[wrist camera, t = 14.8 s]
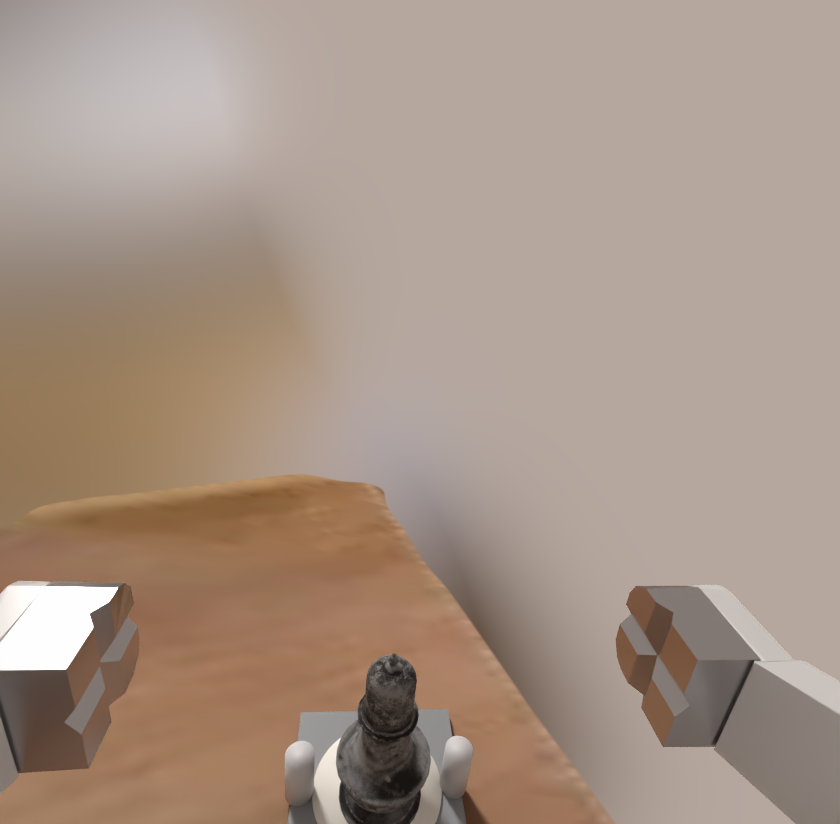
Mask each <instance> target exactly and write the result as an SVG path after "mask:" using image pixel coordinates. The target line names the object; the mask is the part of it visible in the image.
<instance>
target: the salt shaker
mask: <svg viewBox="0 0 840 824" xmlns="http://www.w3.org/2000/svg"><path fill="white" fill-rule="evenodd" d="M416 682H417V680H416V672H415V670H414V668H413V666H412V665H411V664H410V663H409V662H408V661H407V660H406V659H404V658H402V657H400V656H397V655H396V654H392V655H386V656H383V657H380V658H378V659H377V660H376V661H374V662H373V663H372V665H371V666H370V668H369V671H368V674H367V681H366V694H365V695H364V696H363V698H362V699H361V701H360V703H359V706H358V720H356V721H355V722H354V723H353V724H352V725H350V726H349V727H348V728H347V730H346V731H345V733H344V734H343V736H342V737H341V739H340V742H339V745H338V748H337V754H336V767H337V772H338V776H339V778H340V780H341V783H340V787H339V802H340V808H341V811H342V813H343V815H344V817H345V820H346V821H347V822H348V823H349V824H410V823H411V822H412V821H413V819H414V818H415V815H416V813H417V811H418V809H419V804H420V798H421V790H420V789H421V788H422V787H423V786H424V784H425V782H426V779H427V777H428V775H429V770H430V764H431V756H430V748H429V745H428V742H427V740H426V737H425V736H424V734H423V733H422V731H421V730H420V728H419V727H418V726H417V722H418V717H419V713H418V707H417V704H416V702H415V700H414V698H415V690H416Z"/></svg>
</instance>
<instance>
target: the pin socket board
mask: <svg viewBox="0 0 840 824" xmlns="http://www.w3.org/2000/svg"><path fill="white" fill-rule="evenodd" d="M418 713H419V717H418V722H417V726H418V727H419V728H420V730H421V731H422V733H423V734H424V736H425V737H426V740H427V742H428V745H429V748H430V756H431V764H430V770H429V775H428V777H427V779H426V782H425V784H424V786H423V787H422V788H421V789H420V790H421V798H420V804H419V809H418V811H417V813H416V815H415V818H414V819H413V821H412V822H411V823H410V824H466V818H465V812H464V806H463V799H462V796H463V795H464V793H465V791H466V786H467V781H468V776H469V771H470V766H471V761H472V756H473V747H472V745H471V743H470V742H469V741H468V740H467V739H466V738H464V737H462V736H453V737H452V732H451V726H450V720H449V714H448V709H424V710H418ZM356 720H358V711H345V712H305V713H301V718H300V726H299V735H298V741H297V742H295V743H293V744H292V745H290V746H289V748H288V749H287V751H286V753H285V797H286V800H287V802H288V803H289V804H290V809H289V818H288V824H349V823H348V822H347V821H346V820H345V817H344V815H343V813H342V811H341V808H340V802H339V787H340V783H341V780H340V778H339V776H338V772H337V767H336V754H337V748H338V745H339V742H340V739H341V737H342V736H343V734H344V733H345V731H346V730H347V728H348V727H349V726H350V725H352V724H353V723H354V722H355V721H356Z"/></svg>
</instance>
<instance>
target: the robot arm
mask: <svg viewBox="0 0 840 824" xmlns="http://www.w3.org/2000/svg"><path fill="white" fill-rule="evenodd" d="M133 605H134V600H133V595H132V590H131V586H129V585H127V584H125V583H101V582H66V581H55V582H41V581H18V582H15V583H13V584H11V585H9V586H7V587H6V588H5V589H4V590H3V591H2V593H1V594H0V794H1V793H2V792H3V791H4V790H5V789H6V788H7V787H8V786H9V785H11V784H12V783H13V782H14V781H15V780H16V779H17V778H18V777H19V775H18V773H27V772H42V771H57V770H72V769H87V768H89V767H90V765H91V763H92V760H93V758H94V756H95V754H96V752H97V750H98V748H99V746H100V744H101V742H102V740H103V738H104V736H105V734H106V732H107V730H108V727H109V725H110V723H111V717H110V711H109V705H110V704H112V703H113V702H114V701H116V700H117V699H118V698H119V697H121V696H122V695H123V694H124V693H125V692H126V690H127V688H128V685H129V683H130V681H131V679H132V677H133V674H134V670H135V666H136V662H137V658H138V653H139V633H138V626H137V625H135V624H134V623H133V622H132V621H131V620H130V619H129V618H128V617H127V616H128V614H129V612H130V611H131V609H132V607H133ZM626 605H627V606H628V608H629V610H630V612H631V615H630V616H629V617H628V618H626V619H625V620H624V621H623V622H622V623H621V624H620V626H619V630H618V634H617V638H616V648H617V658H618V661H619V664H620V667H621V670H622V672H623V674H624V676H625V678H626V680H627V682H628V683H629V684H630V685H631V686H633V687H634V688H635V689H637V690H638V691H639V692H640V693H642V694H643V701H642V709H643V711H644V713H645V715H646V717H647V719H648V720H649V722H650V724H651V726H652V728H653V729H654V731H655V733H656V735H657V737H658V738H659V740H660V742H661V744H662V746H663V747H715V748H714V750H715V751H716V752H717V753H718V754H719V755H721V756H722V757H723V758H724V759H725V760H726V761H727V762H728V763H729V764H730V765H732V766H733V767H734V768H735V769H736V770H737V771H738V772H739V773H740V774H741V775H743V776H744V777H745V778H746V779H747V780H748V781H749V782H750V783H751V784H752V785H754V786H755V787H756V788H757V789H758V790H759V791H760V792H761V793H763V794H764V795H765V796H766V797H767V798H768V799H769V800H770V801H771V802H772V803H773V804H775V805H776V806H777V807H778V808H779V809H780V810H781V811H783V813H784V814H786V815H787V816H788V817H789V818H790V819H791V820H792V821H793V822H794V823H796V824H840V681H838V680H836V679H835V678H833V677H831V676H829V675H827V674H826V673H824V672H822V671H821V670H819V669H817V668H815V667H814V666H812V665H810V664H808V663H806V662H805V661H794V660H793V659H792V658H791V657H790V656H789V654H788V653H787V652H786V651H785V650H784V649H783V648H782V647H781V646H780V645H779V644H778V643H777V642H776V640H775V639H774V638H773V637H772V636H771V635H770V634H769V633H768V632H767V631H766V630H765V629H764V627H763V626H762V625H761V624H760V623H759V622H758V621H757V620H756V619H755V618H754V617H753V616H752V615H751V614H750V612H749V611H748V610H747V609H746V608H745V607H744V606H743V605H742V604H741V603H740V602H739V601H738V600H737V598H735V596H734V595H733V594H732V593H731V592H730V591H729V590H728V589H726V588H724V587H722V586H720V585H692V586H636V587H635V588H634V589H633V590H632V591H631V592H630V594H629V597H628V601H627V604H626Z"/></svg>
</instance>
